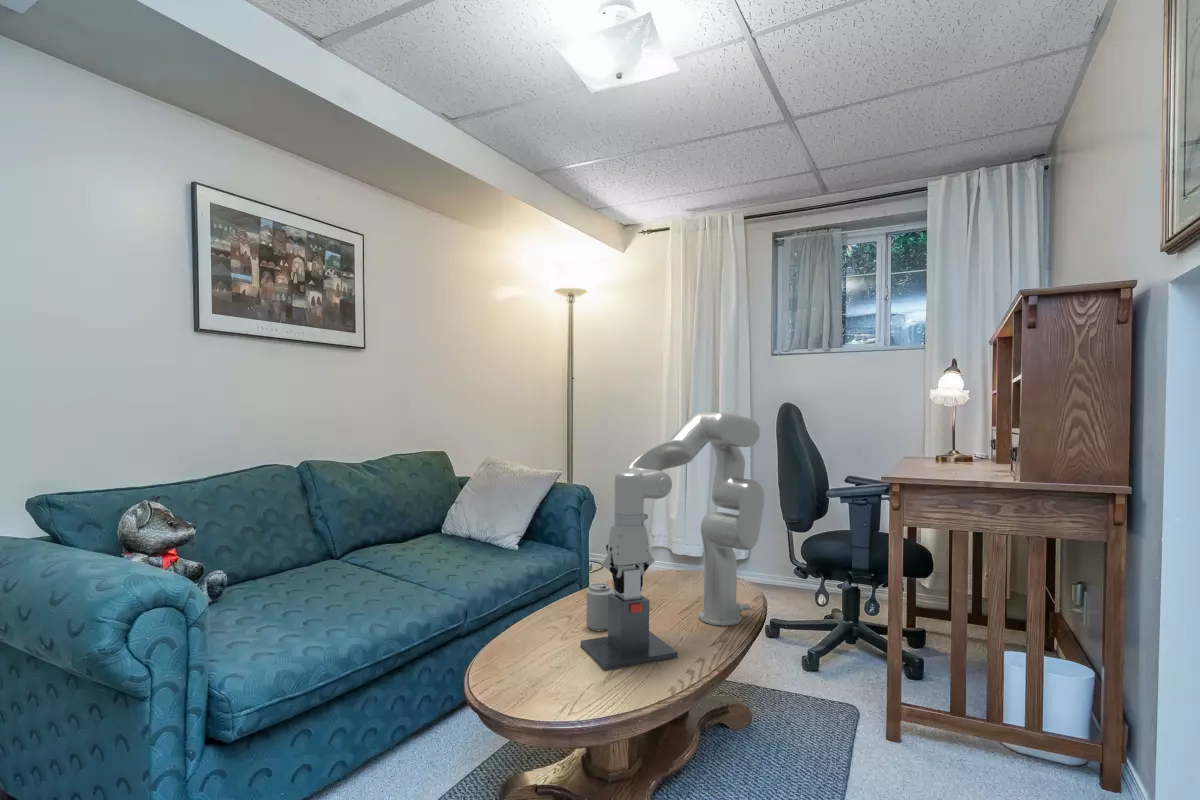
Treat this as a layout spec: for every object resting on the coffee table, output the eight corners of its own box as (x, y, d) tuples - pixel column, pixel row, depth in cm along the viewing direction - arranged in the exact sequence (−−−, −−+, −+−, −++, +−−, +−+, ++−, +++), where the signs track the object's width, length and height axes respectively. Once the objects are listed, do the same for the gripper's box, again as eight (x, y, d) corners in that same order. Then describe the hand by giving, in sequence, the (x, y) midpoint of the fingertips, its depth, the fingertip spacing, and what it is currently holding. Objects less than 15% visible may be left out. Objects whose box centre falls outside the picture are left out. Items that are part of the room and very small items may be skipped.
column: (632, 639, 160) (633, 565, 160) (640, 646, 155) (641, 569, 155) (615, 642, 158) (616, 566, 158) (623, 649, 153) (624, 571, 153)
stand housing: (648, 635, 168) (648, 584, 168) (677, 658, 153) (678, 602, 153) (580, 646, 160) (581, 592, 160) (604, 670, 145) (605, 611, 145)
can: (610, 633, 169) (610, 589, 170) (583, 630, 171) (584, 588, 171) (614, 623, 177) (615, 582, 177) (589, 621, 178) (589, 580, 178)
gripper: (651, 515, 163) (651, 583, 163) (593, 519, 157) (592, 590, 157) (665, 520, 157) (664, 591, 156) (604, 524, 150) (604, 599, 150)
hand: (628, 590), depth 157 cm, fingers closed on column, 4 cm apart
